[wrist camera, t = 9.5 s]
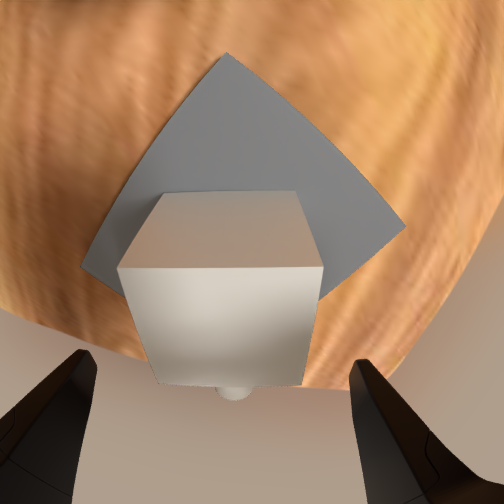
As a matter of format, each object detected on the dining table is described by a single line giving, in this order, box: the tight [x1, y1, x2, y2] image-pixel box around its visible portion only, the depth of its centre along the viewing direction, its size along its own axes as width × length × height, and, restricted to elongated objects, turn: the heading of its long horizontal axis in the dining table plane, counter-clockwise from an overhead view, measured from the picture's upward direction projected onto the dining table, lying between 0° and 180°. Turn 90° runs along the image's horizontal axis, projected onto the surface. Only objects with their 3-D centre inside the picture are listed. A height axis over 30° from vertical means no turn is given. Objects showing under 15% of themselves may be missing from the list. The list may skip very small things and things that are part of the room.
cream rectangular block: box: [117, 190, 324, 400], centre depth 13 cm, size 6×10×6 cm, turn 0°
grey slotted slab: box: [80, 52, 406, 301], centre depth 14 cm, size 14×12×5 cm
